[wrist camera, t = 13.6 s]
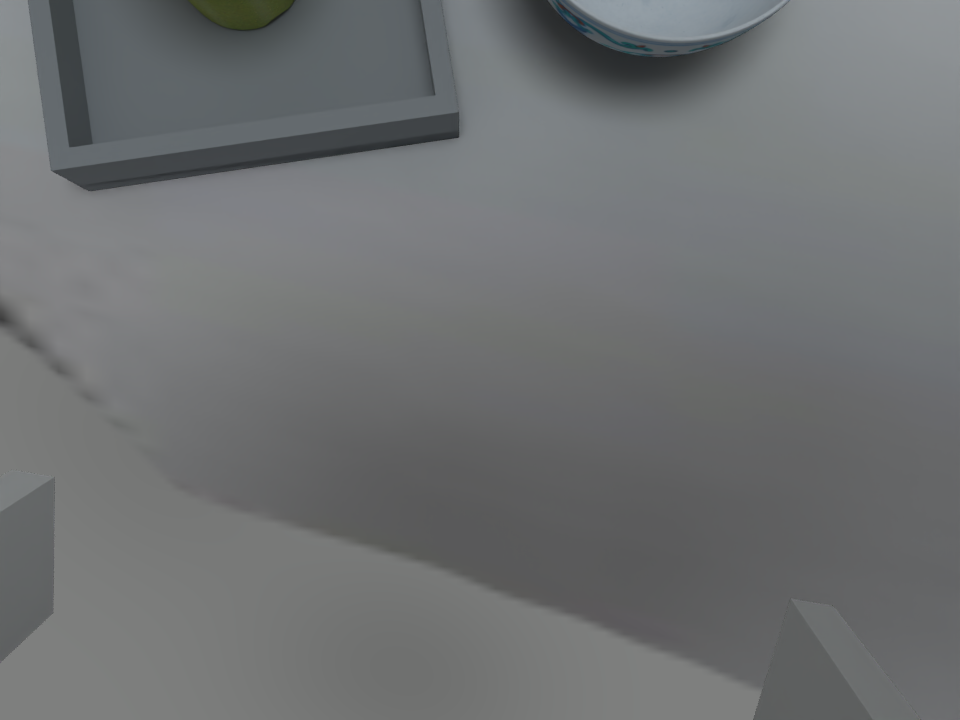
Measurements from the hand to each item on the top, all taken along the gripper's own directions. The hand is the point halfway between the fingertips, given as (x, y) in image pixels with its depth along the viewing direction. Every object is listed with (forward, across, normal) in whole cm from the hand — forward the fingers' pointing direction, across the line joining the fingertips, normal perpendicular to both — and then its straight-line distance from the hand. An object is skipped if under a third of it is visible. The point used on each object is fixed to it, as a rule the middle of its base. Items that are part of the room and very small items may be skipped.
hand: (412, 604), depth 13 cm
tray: (+31, -15, +16) cm, 38 cm away
